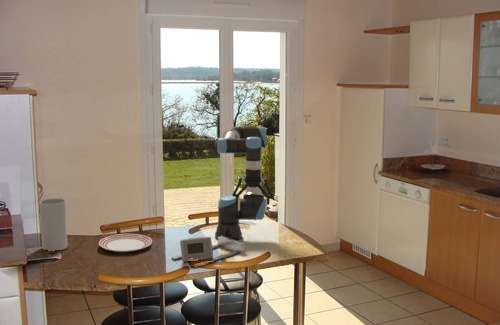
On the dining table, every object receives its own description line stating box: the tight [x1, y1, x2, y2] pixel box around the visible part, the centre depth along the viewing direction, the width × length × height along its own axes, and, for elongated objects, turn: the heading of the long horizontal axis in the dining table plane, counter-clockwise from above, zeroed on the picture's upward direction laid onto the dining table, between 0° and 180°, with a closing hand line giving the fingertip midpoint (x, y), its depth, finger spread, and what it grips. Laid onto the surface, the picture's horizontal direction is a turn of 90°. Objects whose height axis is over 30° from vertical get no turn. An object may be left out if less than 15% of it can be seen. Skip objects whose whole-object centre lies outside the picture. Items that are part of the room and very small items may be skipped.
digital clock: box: [179, 236, 214, 263], centre depth 275 cm, size 16×9×11 cm, turn 103°
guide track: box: [171, 236, 246, 269], centre depth 281 cm, size 17×34×5 cm, turn 136°
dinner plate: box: [98, 233, 153, 253], centre depth 294 cm, size 27×27×3 cm
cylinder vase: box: [39, 198, 68, 251], centre depth 288 cm, size 12×12×25 cm
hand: (252, 210), depth 278 cm, fingers open, 13 cm apart
